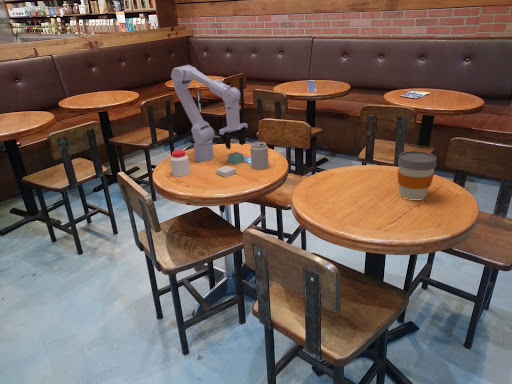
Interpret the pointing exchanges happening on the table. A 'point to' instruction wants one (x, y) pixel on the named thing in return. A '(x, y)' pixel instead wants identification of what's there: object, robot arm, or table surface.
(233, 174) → the bottom tile
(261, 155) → the can
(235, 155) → the cube
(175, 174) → the pill bottle
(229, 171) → the top tile
